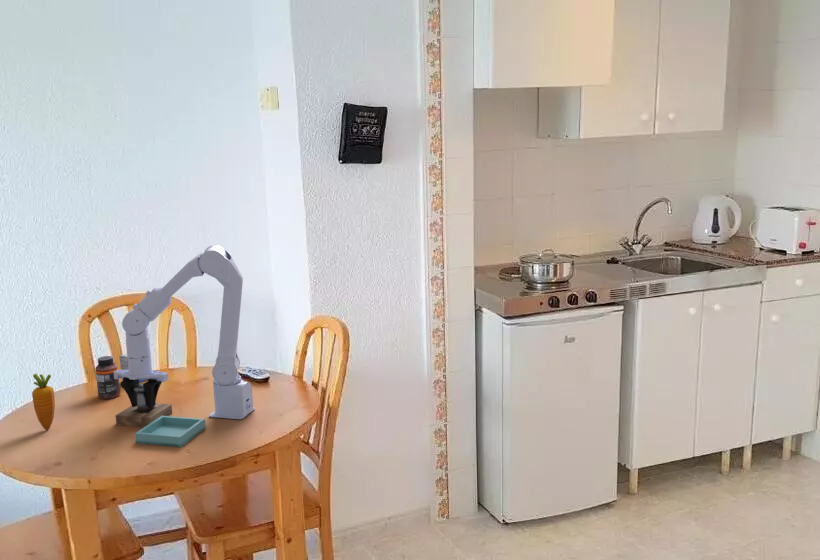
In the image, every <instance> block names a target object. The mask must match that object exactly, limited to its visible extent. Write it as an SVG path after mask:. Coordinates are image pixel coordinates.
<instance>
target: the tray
mask: <svg viewBox="0 0 820 560" xmlns="http://www.w3.org/2000/svg"><path fill="white" fill-rule="evenodd" d="M206 426H207V425H206V419H205V418H199V417H198V418H197V417H184V416H183V417H182V416H174V415H173V416H172V415H169V416H161V417H159V418H158V419H156V420H155V421H153V422H152V423H150V424H149V425H147V426H145V427H141V428H140V429H138V431H136V432H135V433H134V437H135V444H139V445H140V444H141V445H152V446H153V445H154V446H161V447H175V448H182V447H183V446H184V445H186V444H187V443H188V442H190V441H191V440H192V439H194V438H195V437H197V436H198V435H199V434H201V433H202V432H203V431H204V430H205V428H206Z"/></svg>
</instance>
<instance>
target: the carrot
mask: <svg viewBox="0 0 820 560" xmlns="http://www.w3.org/2000/svg"><path fill="white" fill-rule="evenodd" d="M32 376H33V377H32V378H34V379H35V381H34V382H33V384H34V385H36V386H37V387H35V388H34V389H33V390H32V393H31V396H32V402H33V403H32V404H33V409H34V412H35V415H36V417H37V421H38V422H39V424H40V426H41V427H42V428H43V429H44V430H45V431H47V430H48V431H49V430H50V429H51V426H52V424H53V420H54V417H55V408H56V404H55V403H56V402H55V399H56V398H55V390H54V388H53V387H52V386H49V385H48V383H49V381H50V379H51V377H52V374H48V375H47V376H46V378H45V376H44V374H39V375H38V373H34V374H33V375H32Z"/></svg>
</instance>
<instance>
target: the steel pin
mask: <svg viewBox="0 0 820 560" xmlns="http://www.w3.org/2000/svg"><path fill="white" fill-rule="evenodd" d="M144 383H145V382H140V383H139V384H136V385H134V386H133V391H134V392H136V400H137V411H138V413H148V412H150V411H151V409H150V408H148V403H147V395H146V391H145V388H144V386H143V384H144Z"/></svg>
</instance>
